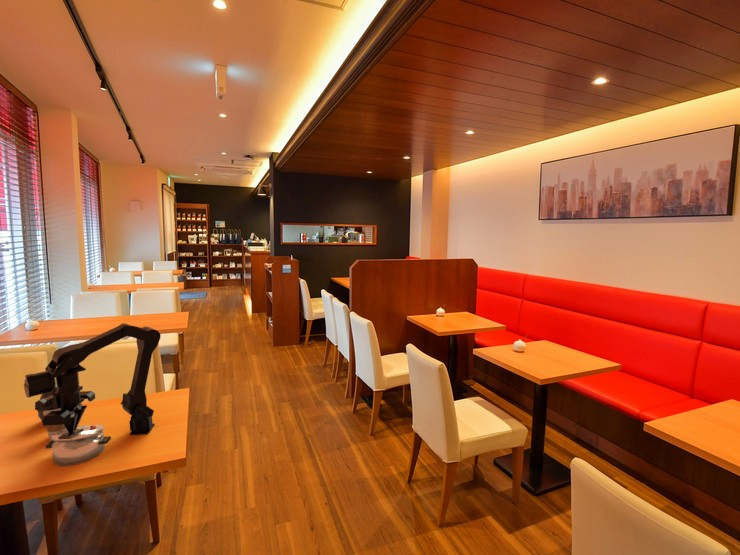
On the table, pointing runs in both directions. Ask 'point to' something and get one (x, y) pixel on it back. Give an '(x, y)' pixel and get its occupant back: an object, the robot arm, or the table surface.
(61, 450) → the pot
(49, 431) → the coffee cup
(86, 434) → the lid
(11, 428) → the table surface
